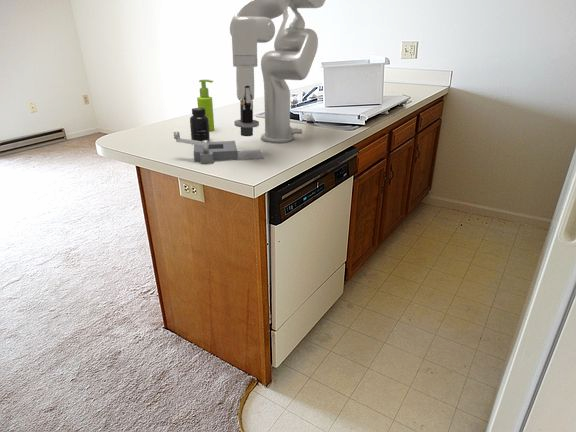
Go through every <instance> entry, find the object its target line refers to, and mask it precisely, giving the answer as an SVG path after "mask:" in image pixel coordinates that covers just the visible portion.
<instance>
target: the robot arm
mask: <svg viewBox="0 0 576 432" xmlns="http://www.w3.org/2000/svg"><path fill="white" fill-rule="evenodd" d="M325 2H326V0H249V1H247V2H246V3H244V4H242V5H241V6H240V7H239V8H238V10H237V11H236V12H235V14H234V15H233V17H232V19H231V21H230V24H229V33H230V36H231V49H232V51H231V53H232V67H236V69H235V70H236V71H235V72H236V73H235V76H236V98H237V99H238V101H241V100H243V110H242V115H243V123H252V122H253V120H254V109H253V110H252V101H254V99H255V69H254V68H257V67H258V44H267V43H269V42H270V41H271V40H273V38H274V36H275V33H276V26H275V22H274V21H273V19H277V18H278V17H281V16H282V22H281V25H280V27H279V29H278V31H277V34H276V36H275V39H274V43H273V44H274V45H273V48H274V50H269V51H267V52H264V54H263V55H262V56H261V60H260V67H261V74H262V79H263V88H264V89H263V92H264V93H263V95H264V97H263V99H264V100H263V101H264V102H263V103H264V133H262V134H261V136H260V140H262V141H263V142H266V143H273V144H277V143H279V144H280V143H281V144H282V143H288V142H292V141H293V140H294V137H295V134H296V135H300V134H301V135H302V134H303V128H298V127H294V128H293V127H291V90H290V87H289V85H288V84H287V82H286V80H289V81H303V80H305V79H306V78H307V77H308V75H309V73H310V70H311V67H312V65H313V62H314V60H315V57H316V55H317V51H318V48H319V47H318V46H319V37H318V34H317V32H316V31H315V30H314V29H311V28H307V27H306V22H305V20H304V18H303V16H302V15H301V13H300V12H299V10H298V9H319V8H321V7H322V6H324V4H325ZM305 27H306V28H305Z"/></svg>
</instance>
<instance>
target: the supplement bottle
mask: <svg viewBox="0 0 576 432" xmlns="http://www.w3.org/2000/svg"><path fill="white" fill-rule="evenodd" d="M205 114H206V112H205V108H198V107H194V108H191V116H190V117H189V127H190V138H191V139H190V140H196V141H203V140H208V142H210V140H211V139H210V137H211V136H210V132H209V119H208V117H207V116H205Z"/></svg>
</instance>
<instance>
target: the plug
mask: <svg viewBox="0 0 576 432" xmlns="http://www.w3.org/2000/svg"><path fill="white" fill-rule="evenodd" d="M239 101H240V102H239V104H240V107H239V108H240V109H239V110H240V119H237V120H235V121H234V122H233V123H234V126H235V127H237V128H240V136H242V137H252V136H253V135H254V134H253V132H254V128H258V127H259V126H260V121H258V120H255V119H253V122H252V123H243V115H242V110H243V100H239ZM252 110H253V111H254V100H252Z"/></svg>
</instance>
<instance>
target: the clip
mask: <svg viewBox="0 0 576 432" xmlns="http://www.w3.org/2000/svg"><path fill="white" fill-rule="evenodd" d="M173 138H174V140H175V142H176V143H181V144H187V145H189V144H190V145H193V146H194V145H202V146H203V153H209V144H208V142H209V141H208V140H203V141H196V140H191V139H187V138H181V135H180V131H174V132H173Z"/></svg>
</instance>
